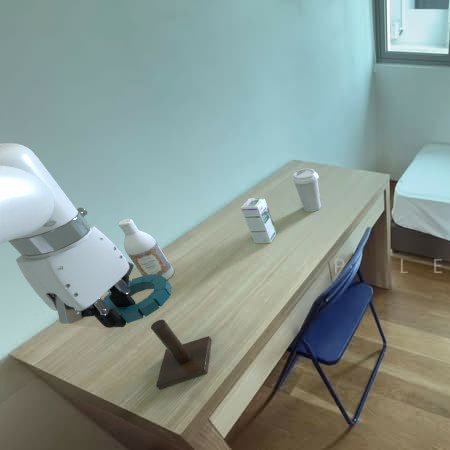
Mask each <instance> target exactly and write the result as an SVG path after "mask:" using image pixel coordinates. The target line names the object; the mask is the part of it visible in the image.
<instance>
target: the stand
mask: <svg viewBox="0 0 450 450" xmlns="http://www.w3.org/2000/svg"><path fill="white" fill-rule="evenodd" d="M150 329H151V331H152V332H153V333H154V335H156V337H157V338H158V340H160V342H161V343H162V344H163V346H164V347H165V348H166V349H165V350H164V353H163V358H162V362H161V365H160V369H159V374H158V377H157V381H156V384H155V387H156V388H157V389H158V390H162V389H163V390H164V389H166V388H169V387H172V386H173V385H177V384H180V383H183V382H186V381H189V380H192V379H195V378H198V377H200V376H204V375H206V374H208V372H209V365H210V355H211V347H212V338H211V336H210V335H207V336H205V337H201V338H199V339H195V340H192V341H188V342H186V343H182V342H181V341H180V339H179V338H178V336H177V335H176V333H174V331H173V330H172V328H171V327H170V326H169V324H168V323H167V321H166V320H165V319H158V320H156V321H154V322H153V323H152V324H151V325H150Z"/></svg>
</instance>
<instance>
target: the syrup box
mask: <svg viewBox="0 0 450 450" xmlns="http://www.w3.org/2000/svg"><path fill="white" fill-rule="evenodd" d="M240 211H241V213H242V215H243V218H244V220H245V222H246V226H247V228H248V230H249V232H250V235H251V237H252V240H253V242H254V244H272V242H273V240H274V239H275V237H276V235H277V233H278V231H277V229H276V226H275V223H274V221H273V218H272V214H271V213H270V210H269V207H268V204H267V201H266V198H264V197H252V198H247V200H246V201H245V202H244V203H243V204H242V205H241V207H240Z"/></svg>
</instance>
